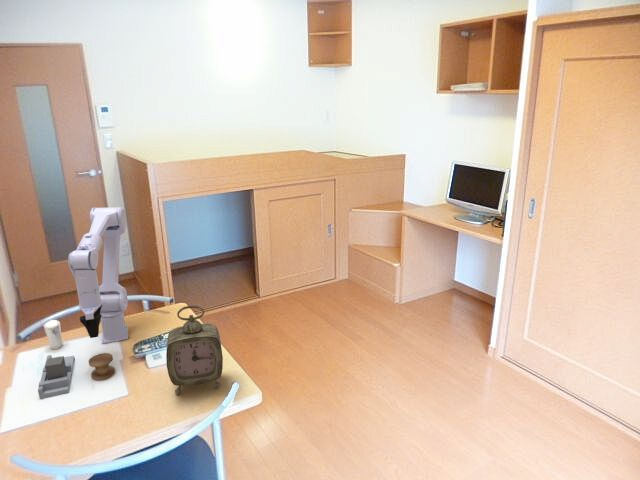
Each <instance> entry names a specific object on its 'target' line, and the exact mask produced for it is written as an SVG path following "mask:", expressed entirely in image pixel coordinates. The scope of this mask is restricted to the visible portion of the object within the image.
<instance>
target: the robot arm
mask: <svg viewBox="0 0 640 480" xmlns="http://www.w3.org/2000/svg"><path fill="white" fill-rule="evenodd" d="M89 221H90V223H91V224H90V225H91V226H90V229H89V232H88V233H85V234H83V236H82V238H80V239H81V240H80V242H79V243H78V245H77V248H76V250H73V251H72V252H70V253H69V254H68V259H67V262H68V264H67V265H68V268H69V270H70V271H71V275H72V277H73V278H74V280H75V286H76V291H77V297H78V302H79V303H78V304H79V305H78V307H79V309H80V310H81V311H82V312H83V314H84V315H80V316H79V321H80V323H81V324H82V325H83V327H85V330H86V332H87V334H88V336H89V338H90V339H93V338H99V333H100V330H99V329H100V324H101V329H102V334H101V344H103V345H104V344H108V343H114V342H119V341H125V340H128V339H129V325H126V319H125V311H126V310H127V308H128V305H129V299H128V292H127V291H128V290H127V289H126V288H125V287H124V286H122V284H120V283H119V273H120V271H119V269H120V268H119V267H120V249H121V248H120V247H121V246H120V241H121V235H123V234H125V232H126V226H127V215H126V211H125V209H124V208H123V207H122V206H118V207H116V206H115V207H113V206H111V207H95V206H94V207H92V208H91V209H90V212H89ZM102 237H103V238H104V239H103V238H102ZM102 246H103V257H102V258H103V260H102V261H103V263H102V279H101V280H102V282H101V284H100V285H99V280H98V275H97V268H98V266H99V265H98V264H99V258H100V255H99V252H100V250H101V248H102Z"/></svg>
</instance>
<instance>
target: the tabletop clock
mask: <svg viewBox="0 0 640 480" xmlns="http://www.w3.org/2000/svg"><path fill="white" fill-rule="evenodd" d="M187 309H198V310H200V311H201V312H202V313H201V314H199V315H197V316H194V315H193V314H190V315H189V316H188V317H182V316H181V315H180V313H181V312H182V311H184V310H187ZM204 315H205V310H204V308H203V307H201V306H199V305H195V304H194V305H193V304H192V305H187V306H183V307H181V308H180V309H179V310H178V311H177V314H176V316H177V317H178V319H179V320H182V321H185V322H184V324H183V325H182V326H177V327H175V328H172V329H171V330H169V331H168V335H167V341H166V354H165V355H166V357H165V358H166V360H165V361H166V369H167V375H168V378H169V380H170V381H171V383H172V385H174V386H178V387H177V388H176V389H175V390H174V394H175V395H180V394H181V392H182V390H181V387H182V386H183V387H184V386H191V385H200V384H204V383H209V382H210V383H211V382H214V387H215V388H216V389H219V388H220V387H221V382H219V381H217V380H218V379H220V378H221V376H222V373H223V369H224V368H223V363H224V362H223V360H224V359H223V358H224V357H223V349H222V343H221V336H220V332H219V329H218V327H217V325H216V324H213V323H202V322H201V321H199V319H201V318H202V317H203V316H204Z"/></svg>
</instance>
